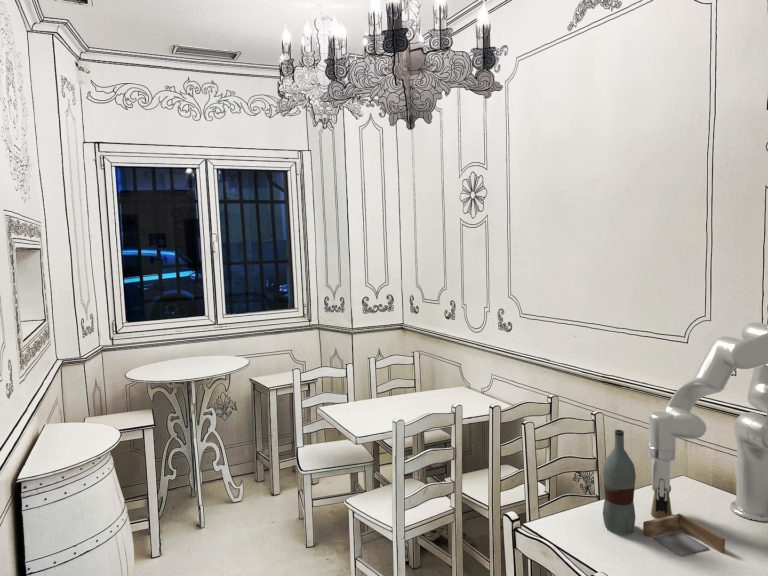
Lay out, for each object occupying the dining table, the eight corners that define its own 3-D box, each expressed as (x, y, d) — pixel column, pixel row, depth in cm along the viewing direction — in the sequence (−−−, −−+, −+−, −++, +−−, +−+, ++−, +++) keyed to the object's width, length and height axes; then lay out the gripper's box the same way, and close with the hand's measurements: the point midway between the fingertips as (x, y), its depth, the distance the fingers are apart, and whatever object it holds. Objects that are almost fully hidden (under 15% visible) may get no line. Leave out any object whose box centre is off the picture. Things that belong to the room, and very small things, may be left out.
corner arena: (679, 526, 170) (679, 513, 170) (724, 552, 156) (725, 538, 155) (643, 534, 166) (643, 521, 166) (686, 562, 151) (686, 547, 151)
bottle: (598, 520, 176) (598, 425, 173) (629, 520, 175) (629, 425, 173) (608, 535, 166) (608, 436, 164) (640, 536, 165) (640, 436, 163)
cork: (674, 520, 174) (675, 486, 173) (653, 519, 175) (654, 485, 174) (669, 511, 180) (669, 478, 179) (648, 510, 181) (648, 477, 180)
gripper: (649, 442, 185) (649, 496, 186) (648, 459, 170) (647, 518, 171) (675, 444, 182) (674, 499, 183) (676, 463, 167) (675, 523, 168)
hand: (661, 508), depth 177 cm, fingers closed on cork, 3 cm apart
